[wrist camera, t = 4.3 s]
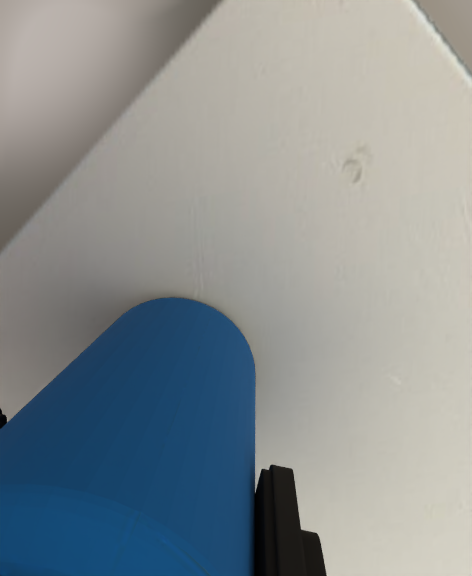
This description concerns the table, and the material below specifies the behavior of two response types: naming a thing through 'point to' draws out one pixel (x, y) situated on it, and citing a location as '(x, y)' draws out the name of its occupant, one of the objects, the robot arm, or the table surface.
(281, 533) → the robot arm
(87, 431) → the beverage can
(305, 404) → the table surface
